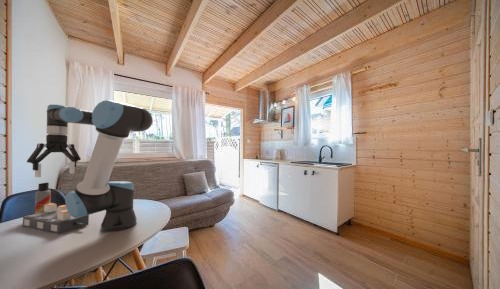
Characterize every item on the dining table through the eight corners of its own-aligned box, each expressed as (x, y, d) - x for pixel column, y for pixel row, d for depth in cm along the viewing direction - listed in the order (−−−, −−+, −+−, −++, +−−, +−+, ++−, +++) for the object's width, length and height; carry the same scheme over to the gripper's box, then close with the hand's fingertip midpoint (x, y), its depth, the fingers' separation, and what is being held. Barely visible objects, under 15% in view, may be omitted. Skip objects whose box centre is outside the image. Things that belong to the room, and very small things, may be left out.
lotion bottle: (39, 219, 98) (40, 183, 99) (31, 218, 99) (33, 183, 100) (52, 216, 104) (53, 182, 104) (45, 215, 105) (46, 181, 105)
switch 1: (70, 218, 88) (71, 210, 88) (63, 220, 85) (63, 212, 85) (65, 217, 89) (65, 209, 89) (57, 219, 86) (57, 211, 86)
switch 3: (56, 210, 98) (56, 203, 98) (49, 212, 95) (49, 205, 95) (51, 209, 99) (51, 202, 99) (44, 211, 96) (44, 204, 96)
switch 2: (69, 212, 96) (69, 205, 96) (61, 214, 93) (62, 207, 93) (63, 211, 97) (64, 204, 97) (56, 213, 94) (57, 206, 94)
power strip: (96, 225, 93) (97, 214, 93) (67, 236, 81) (68, 224, 81) (53, 217, 101) (54, 208, 101) (21, 226, 90) (22, 216, 90)
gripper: (79, 136, 106) (78, 171, 105) (16, 132, 82) (14, 178, 81) (89, 136, 104) (88, 172, 104) (27, 132, 80) (25, 179, 79)
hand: (56, 175), depth 92 cm, fingers open, 13 cm apart
